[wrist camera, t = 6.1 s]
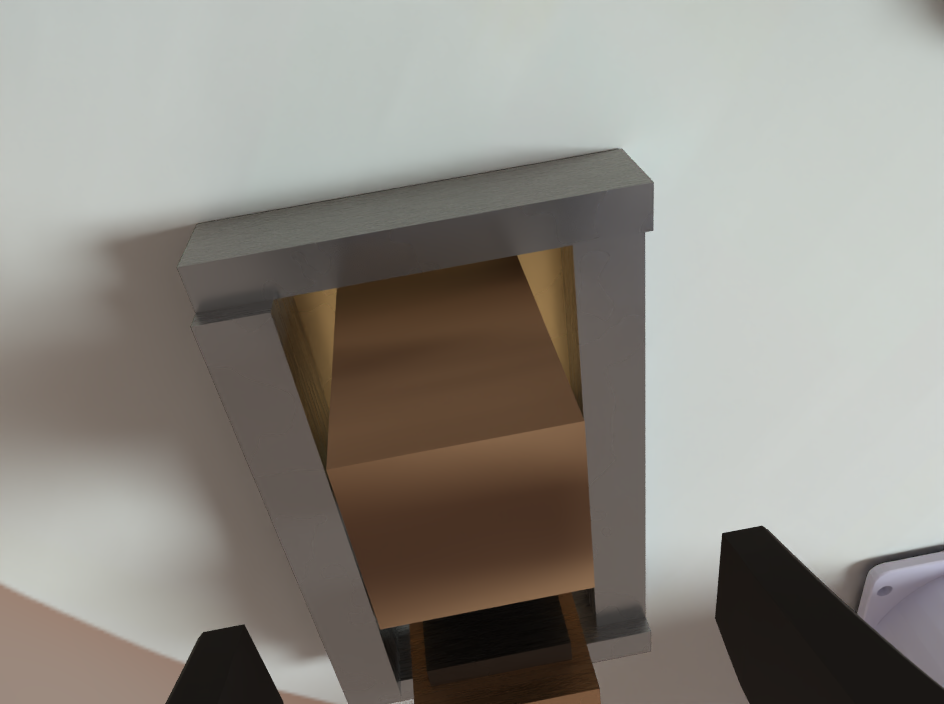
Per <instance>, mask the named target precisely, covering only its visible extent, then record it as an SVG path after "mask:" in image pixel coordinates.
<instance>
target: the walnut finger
mask: <svg viewBox="0 0 944 704" xmlns="http://www.w3.org/2000/svg"><path fill="white" fill-rule="evenodd" d="M326 471H327V474H328V477H329V480H330V482H331V485H332V488H333V491H334V494H335V497H336V500H337V503H338V506H339V509H340V512H341V515H342V518H343V521H344V524H345V527H346V530H347V533H348V536H349V539H350V542H351V545H352V547H353V550H354V553H355V556H356V559H357V562H358V565H359V568H360V571H361V574H362V577H363V580H364V583H365V586H366V589H367V592H368V595H369V598H370V601H371V604H372V607H373V610H374V612H375V615H376V618H377V621H378V624H379V627H380V629H385V628H391V627H396V626H401V625H406V624H411V623H416V622H421V621H426V620H431V619H436V618H442V617H447V616H452V615H457V614H462V613H467V612H472V611H477V610H482V609H487V608H493V607H498V606H503V605H508V604H513V603H518V602H523V601H528V600H533V599H538V598H544V597H549V596H554V595H559V594H564V593H569V592H574V591H579V590H584V589H589V588H595V580H594V564H593V548H592V532H591V516H590V500H589V484H588V467H587V451H586V435H585V421H584V418H583V416H582V413H581V411H580V408H579V406H578V404H577V401H576V399H575V396H574V394H573V391H572V389H571V386H570V384H569V382H568V379H567V377H566V374H565V372H564V369H563V367H562V364H561V362H560V359H559V357H558V355H557V352H556V350H555V347H554V345H553V342H552V340H551V337H550V335H549V333H548V330H547V328H546V325H545V323H544V320H543V318H542V315H541V313H540V310H539V308H538V306H537V303H536V301H535V298H534V296H533V293H532V291H531V288H530V286H529V284H528V281H527V279H526V276H525V274H524V271H523V269H522V266H521V264H520V261H519V259H518V257H517V255H516V256H510V257H505V258H499V259H494V260H488V261H483V262H477V263H472V264H466V265H461V266H455V267H450V268H444V269H439V270H433V271H428V272H422V273H417V274H411V275H406V276H400V277H395V278H389V279H384V280H378V281H373V282H367V283H361V284H356V285H350V286H345V287H339V288H337V292H336V310H335V327H334V344H333V361H332V379H331V396H330V413H329V430H328V448H327V465H326Z"/></svg>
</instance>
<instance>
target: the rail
mask: <svg viewBox="0 0 944 704" xmlns="http://www.w3.org/2000/svg"><path fill="white" fill-rule="evenodd" d="M653 200H654V182H653V181H652V180H651V179H650V178H649V177H648V176H647V175H646V174H645V172H644V171H643V170H642V169H641V168H640V167H639V166H638V165H637V164H636V163H635V162H634V161H633V160H632V159H631V158H630V157H629V156H628V154H627V153H626V152H625V151H624V150H623V149H617V150H611V151H606V152H600V153H594V154H589V155H583V156H578V157H572V158H566V159H561V160H555V161H549V162H544V163H538V164H533V165H527V166H521V167H516V168H510V169H504V170H499V171H493V172H487V173H482V174H476V175H471V176H465V177H459V178H454V179H448V180H442V181H437V182H431V183H426V184H420V185H414V186H409V187H403V188H397V189H392V190H386V191H380V192H375V193H369V194H364V195H358V196H352V197H347V198H341V199H335V200H330V201H324V202H318V203H313V204H307V205H302V206H296V207H290V208H285V209H279V210H273V211H268V212H262V213H257V214H251V215H245V216H240V217H234V218H228V219H223V220H217V221H211V222H206V223H200V224H197V225H196V227H195V230H194V232H193V234H192V236H191V238H190V240H189V242H188V245H187V247H186V249H185V251H184V253H183V255H182V257H181V260H180V262H179V264H178V266H177V269H178V272H179V274H180V277H181V279H182V281H183V284H184V286H185V289H186V291H187V294H188V296H189V299H190V301H191V303H192V306H193V308H194V311H195V313H196V314H195V317H194V319H193V322H192V325H191V329H192V332H193V334H194V336H195V339H196V341H197V344H198V346H199V348H200V351H201V353H202V356H203V358H204V360H205V363H206V365H207V367H208V370H209V372H210V375H211V377H212V379H213V382H214V384H215V387H216V389H217V391H218V394H219V396H220V398H221V401H222V403H223V406H224V408H225V410H226V413H227V415H228V418H229V420H230V422H231V425H232V427H233V430H234V432H235V434H236V437H237V439H238V441H239V444H240V446H241V449H242V451H243V453H244V456H245V458H246V461H247V463H248V465H249V468H250V470H251V473H252V475H253V477H254V480H255V482H256V484H257V487H258V489H259V492H260V494H261V496H262V499H263V501H264V504H265V506H266V508H267V511H268V513H269V516H270V518H271V520H272V523H273V525H274V527H275V530H276V532H277V535H278V537H279V539H280V542H281V544H282V547H283V549H284V551H285V554H286V556H287V559H288V561H289V563H290V566H291V568H292V570H293V573H294V575H295V578H296V580H297V582H298V585H299V587H300V590H301V592H302V594H303V597H304V599H305V601H306V604H307V606H308V609H309V611H310V613H311V616H312V618H313V621H314V623H315V625H316V628H317V630H318V633H319V635H320V637H321V640H322V642H323V644H324V647H325V649H326V652H327V654H328V656H329V659H330V661H331V664H332V666H333V668H334V671H335V673H336V676H337V678H338V680H339V683H340V685H341V687H342V690H343V692H344V695H345V697H346V699H347V702H348V704H389V703H394V702H399V701H404V700H409V699H414V704H601V703H600V688H599V685H598V682H597V678H596V675H595V671H594V668H593V664H592V663H595V662H600V661H605V660H610V659H615V658H620V657H625V656H630V655H635V654H640V653H645V652H650V651H651V630H650V628H649V625H648V622H647V620H646V617H645V232H648V231H653ZM516 255H517V257H518V259H519V261H520V264H521V266H522V269H523V271H524V274H525V276H526V279H527V281H528V284H529V286H530V288H531V291H532V293H533V296H534V298H535V301H536V303H537V306H538V308H539V310H540V313H541V315H542V318H543V320H544V323H545V325H546V328H547V330H548V333H549V335H550V337H551V340H552V342H553V345H554V347H555V350H556V352H557V355H558V357H559V359H560V362H561V364H562V367H563V369H564V372H565V374H566V377H567V379H568V382H569V384H570V386H571V389H572V391H573V394H574V396H575V399H576V401H577V404H578V406H579V408H580V411H581V413H582V416H583V418H584V421H585V435H586V451H587V467H588V484H589V500H590V516H591V532H592V548H593V564H594V580H595V588H589V589H584V590H579V591H574V592H569V593H564V594H559V595H554V596H549V597H544V598H538V599H533V600H528V601H523V602H518V603H513V604H508V605H503V606H498V607H493V608H487V609H482V610H477V611H472V612H467V613H462V614H457V615H452V616H447V617H442V618H436V619H431V620H426V621H421V622H416V623H411V624H406V625H401V626H396V627H391V628H385V629H380V627H379V624H378V621H377V618H376V615H375V612H374V610H373V607H372V604H371V601H370V598H369V595H368V592H367V589H366V586H365V583H364V580H363V577H362V574H361V571H360V568H359V565H358V562H357V559H356V556H355V553H354V550H353V547H352V545H351V542H350V539H349V536H348V533H347V530H346V527H345V524H344V521H343V518H342V515H341V512H340V509H339V506H338V503H337V500H336V497H335V494H334V491H333V488H332V485H331V482H330V480H329V477H328V474H327V471H326V465H327V448H328V430H329V413H330V396H331V379H332V361H333V344H334V327H335V310H336V292H337V288H339V287H345V286H350V285H356V284H361V283H367V282H373V281H378V280H384V279H389V278H395V277H400V276H406V275H411V274H417V273H422V272H428V271H433V270H439V269H444V268H450V267H455V266H461V265H466V264H472V263H477V262H483V261H488V260H494V259H499V258H505V257H510V256H516Z"/></svg>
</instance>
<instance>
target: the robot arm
mask: <svg viewBox="0 0 944 704" xmlns="http://www.w3.org/2000/svg"><path fill="white" fill-rule="evenodd" d="M715 619H716V622H717V625H718V627H719V630H720V633H721V635H722V638H723V641H724V643H725V646H726V649H727V652H728V654H729V657H730V659H731V662H732V665H733V667H734V670H735V672H736V675H737V677H738V680H739V682H740V685H741V687H742V689H743V691H744V693H745V695H746V697H747V699H748V701H749V703H750V704H944V551H942V552H937V553H932V554H927V555H921V556H916V557H911V558H906V559H901V560H896V561H891V562H886V563H882V564H879V565H876V566H875V567H873V568H872V569H871V570H870V571H869V573H868V574H867V578H866V581H865V585H864V589H863V593H862V597H861V600H860V604H859V608H858V612H857V614H856V613H855V612H854V611H853V610H852V609H851V608H850V607H849V606H848V605H846V604H845V603H844V602H843V601H842V600H841V599H840V598H839V597H838V596H837V595H836V594H835V593H833V592H832V591H831V590H830V589H829V588H828V587H827V586H826V585H825V584H824V583H823V582H822V581H821V580H819V579H818V578H817V577H816V576H815V575H814V574H813V573H812V572H811V571H810V570H809V569H808V568H807V567H806V566H805V565H804V564H803V563H802V562H801V561H800V560H799V559H798V558H796V557H795V556H794V555H793V554H792V553H791V552H790V551H789V550H788V549H787V548H786V547H785V546H784V545H783V544H782V543H781V542H780V541H779V540H778V539H777V538H776V537H775V536H774V535H773V534H772V533H771V532H770V531H769V530H768V529H766V528H765V527H763V526H758V527H753V528H748V529H742V530H737V531H732V532H727V533H722V542H721V554H720V566H719V578H718V590H717V603H716V615H715ZM165 704H283V700H282V698H281V696H280V694H279V692H278V690H277V688H276V686H275V684H274V682H273V680H272V678H271V676H270V674H269V672H268V670H267V668H266V666H265V664H264V662H263V660H262V659H261V657H260V655H259V653H258V651H257V649H256V647H255V645H254V643H253V641H252V639H251V637H250V635H249V633H248V631H247V629H246V627H245V625H239V626H233V627H228V628H223V629H218V630H212V631H207V632H203V633H202V635H201V636H200V637H199V638H198V640H197V642H196V644H195V646H194V648H193V650H192V652H191V654H190V656H189V658H188V660H187V662H186V664H185V666H184V668H183V670H182V672H181V674H180V676H179V678H178V680H177V682H176V684H175V686H174V688H173V690H172V692H171V694H170V696H169V698H168V700H167V702H166V703H165Z"/></svg>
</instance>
